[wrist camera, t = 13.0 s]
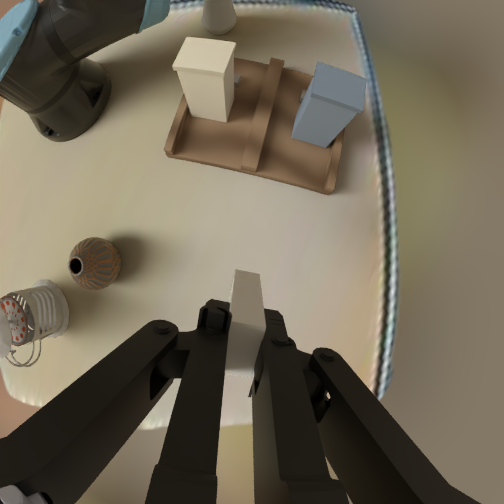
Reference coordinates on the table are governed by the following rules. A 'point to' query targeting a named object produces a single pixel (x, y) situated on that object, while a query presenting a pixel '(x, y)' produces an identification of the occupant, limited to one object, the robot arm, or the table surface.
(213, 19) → the salt shaker
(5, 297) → the french press
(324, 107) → the blue-grey rectangular block
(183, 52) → the cream tall block
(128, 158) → the table surface
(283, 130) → the wooden divided tray
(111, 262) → the vase
